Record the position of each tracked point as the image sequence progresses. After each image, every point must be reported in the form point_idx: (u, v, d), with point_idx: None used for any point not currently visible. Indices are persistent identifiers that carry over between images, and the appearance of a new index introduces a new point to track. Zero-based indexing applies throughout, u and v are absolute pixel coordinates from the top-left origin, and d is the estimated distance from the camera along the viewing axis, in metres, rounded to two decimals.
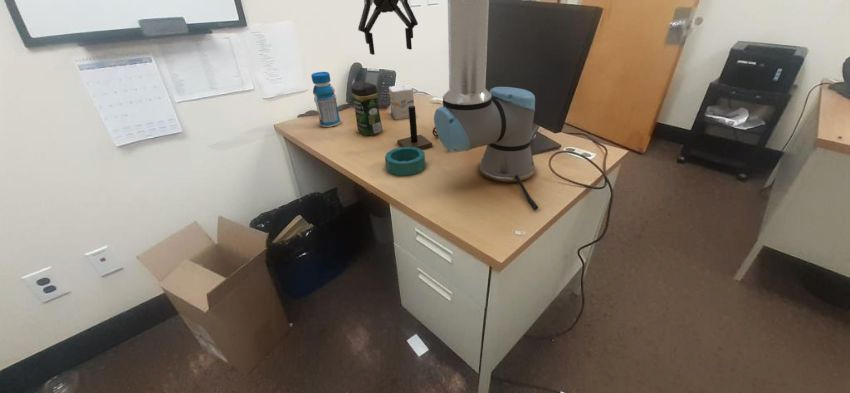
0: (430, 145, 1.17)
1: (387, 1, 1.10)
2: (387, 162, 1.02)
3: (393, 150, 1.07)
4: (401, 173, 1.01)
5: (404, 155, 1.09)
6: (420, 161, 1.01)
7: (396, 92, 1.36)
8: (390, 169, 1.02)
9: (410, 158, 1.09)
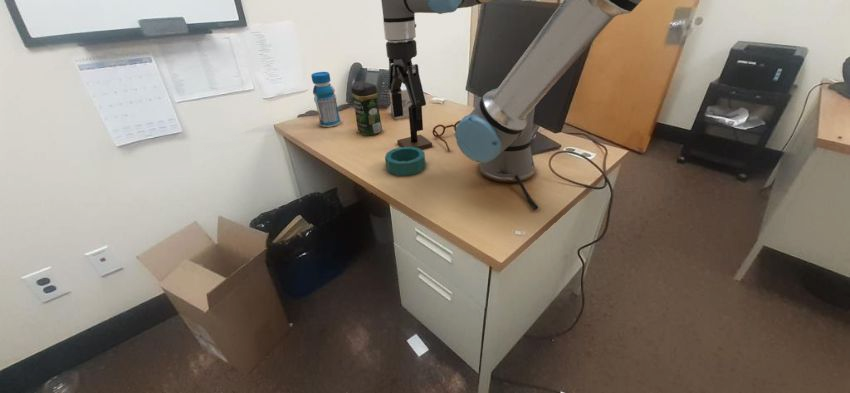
0: (430, 145, 1.17)
1: (399, 67, 0.88)
2: (387, 162, 1.02)
3: (393, 150, 1.07)
4: (401, 173, 1.01)
5: (404, 155, 1.09)
6: (420, 161, 1.01)
7: None
8: (390, 169, 1.02)
9: (410, 158, 1.09)
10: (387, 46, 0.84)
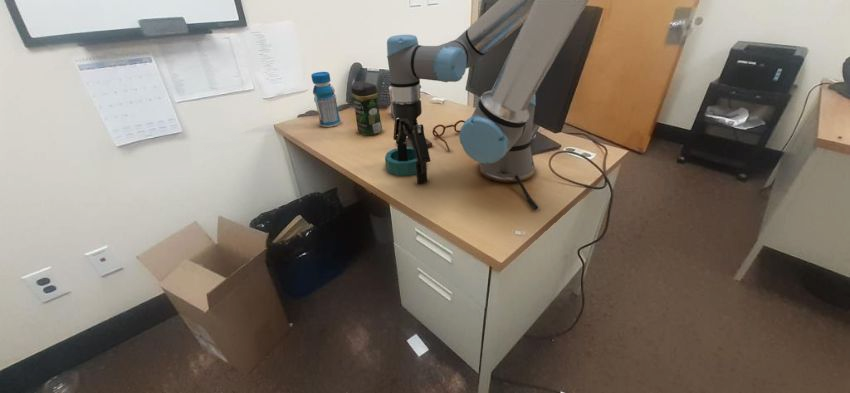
0: (430, 145, 1.17)
1: (404, 124, 0.93)
2: (387, 162, 1.02)
3: (393, 150, 1.07)
4: (401, 173, 1.01)
5: None
6: None
7: None
8: (390, 169, 1.02)
9: (410, 158, 1.09)
10: (394, 106, 0.90)
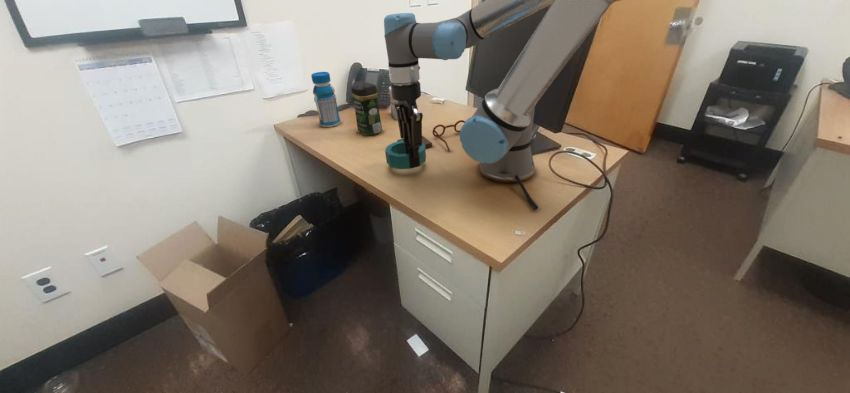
0: (430, 145, 1.17)
1: (403, 107, 0.91)
2: (387, 155, 1.01)
3: (393, 144, 1.05)
4: (401, 166, 0.99)
5: None
6: (420, 153, 0.99)
7: None
8: (390, 162, 1.00)
9: None
10: (392, 88, 0.87)
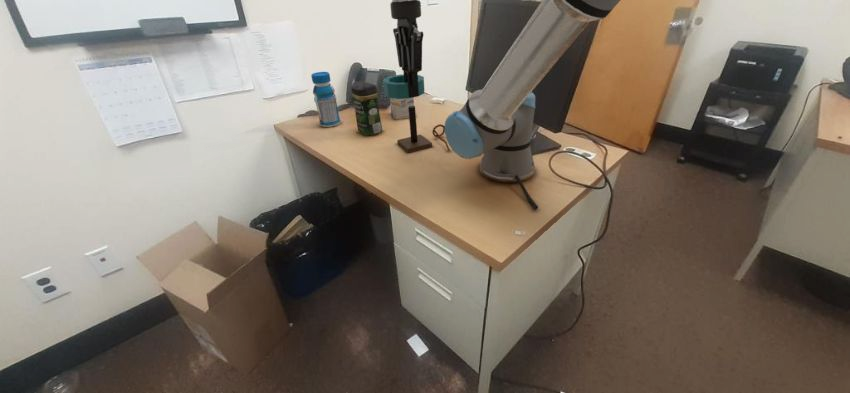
0: (430, 145, 1.17)
1: None
2: (385, 85, 0.98)
3: (391, 76, 1.03)
4: (400, 96, 0.97)
5: (402, 83, 1.04)
6: (419, 83, 0.97)
7: None
8: (388, 92, 0.98)
9: None
10: (392, 6, 0.84)
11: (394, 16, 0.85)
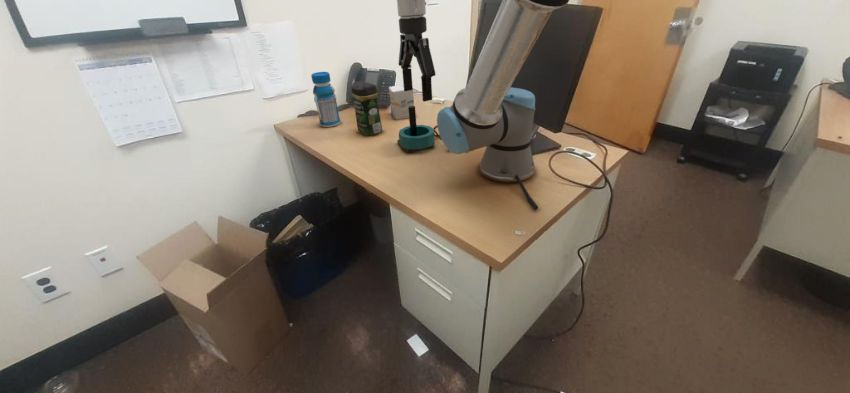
0: None
1: None
2: (401, 137, 1.14)
3: (406, 127, 1.18)
4: (413, 147, 1.12)
5: None
6: (430, 136, 1.12)
7: (396, 92, 1.36)
8: (403, 143, 1.14)
9: (421, 135, 1.20)
10: (400, 22, 0.93)
11: (402, 31, 0.94)
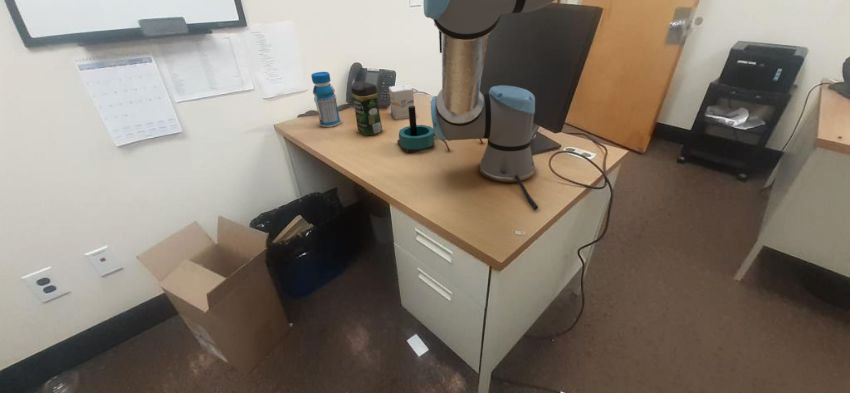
0: None
1: None
2: (401, 137, 1.14)
3: (406, 127, 1.18)
4: (413, 147, 1.12)
5: None
6: (430, 136, 1.12)
7: (396, 92, 1.36)
8: (403, 143, 1.14)
9: (421, 135, 1.20)
10: None
11: None
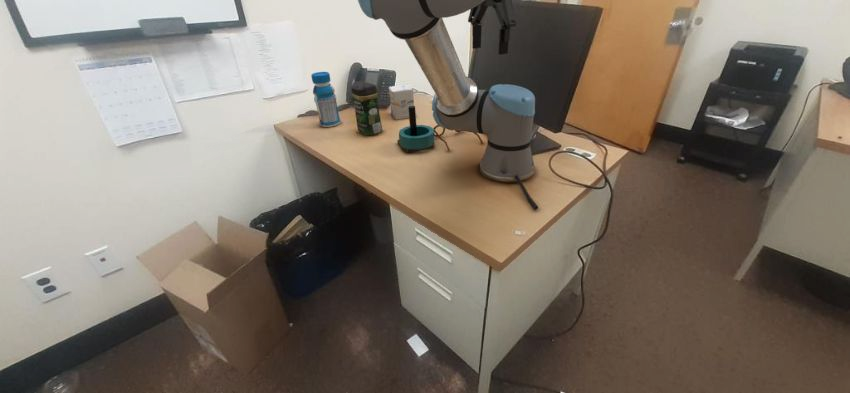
0: None
1: None
2: (401, 137, 1.14)
3: (406, 127, 1.18)
4: (413, 147, 1.12)
5: None
6: (430, 136, 1.12)
7: (396, 92, 1.36)
8: (403, 143, 1.14)
9: (421, 135, 1.20)
10: None
11: None
